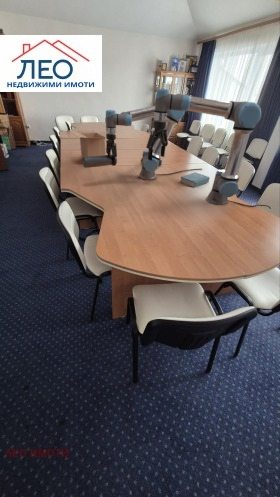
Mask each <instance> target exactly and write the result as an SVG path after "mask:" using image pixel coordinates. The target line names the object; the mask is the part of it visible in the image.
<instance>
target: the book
mask: <svg viewBox="0 0 280 497" xmlns="http://www.w3.org/2000/svg"><path fill="white" fill-rule="evenodd" d="M208 182H210V176H208V175H205V174H201V173H198V172H197V171H196V172H195V171H194V172H191V173H189V174H186V175H182V176H180V181H179V183H180V184H183V185H186V186H188V187H191V188H196V187H198V186H201V185H203V184H207V183H208Z"/></svg>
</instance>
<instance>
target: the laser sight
mask: <svg viewBox="0 0 280 497" xmlns="http://www.w3.org/2000/svg"><path fill="white" fill-rule="evenodd" d="M142 159H143V157H141V159H140V164H142ZM158 164H159V165H158V166H162V164H163V160H162V159H160V161H159V163H158Z"/></svg>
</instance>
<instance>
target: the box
mask: <svg viewBox="0 0 280 497" xmlns="http://www.w3.org/2000/svg"><path fill="white" fill-rule="evenodd" d="M70 133H71V134H72V135H74V136H75V137H77V138H79V144H80V153H81V159H82V158H83V157H89V156H101V155H106V134H107V133H106V131H98V132H96V131H95V130H92V129H91V130H77V132H76V131H70Z"/></svg>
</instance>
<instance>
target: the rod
mask: <svg viewBox="0 0 280 497" xmlns="http://www.w3.org/2000/svg"><path fill="white" fill-rule="evenodd" d="M112 157H113V156H112V154H111V155H108V154H105V155H101V156H89V157H83V158H82V157H81V163H82V166H83V168H85V169H86V168H96V167H105V166H112ZM115 159H116V165H117V163H118V156H117V157H115Z"/></svg>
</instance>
